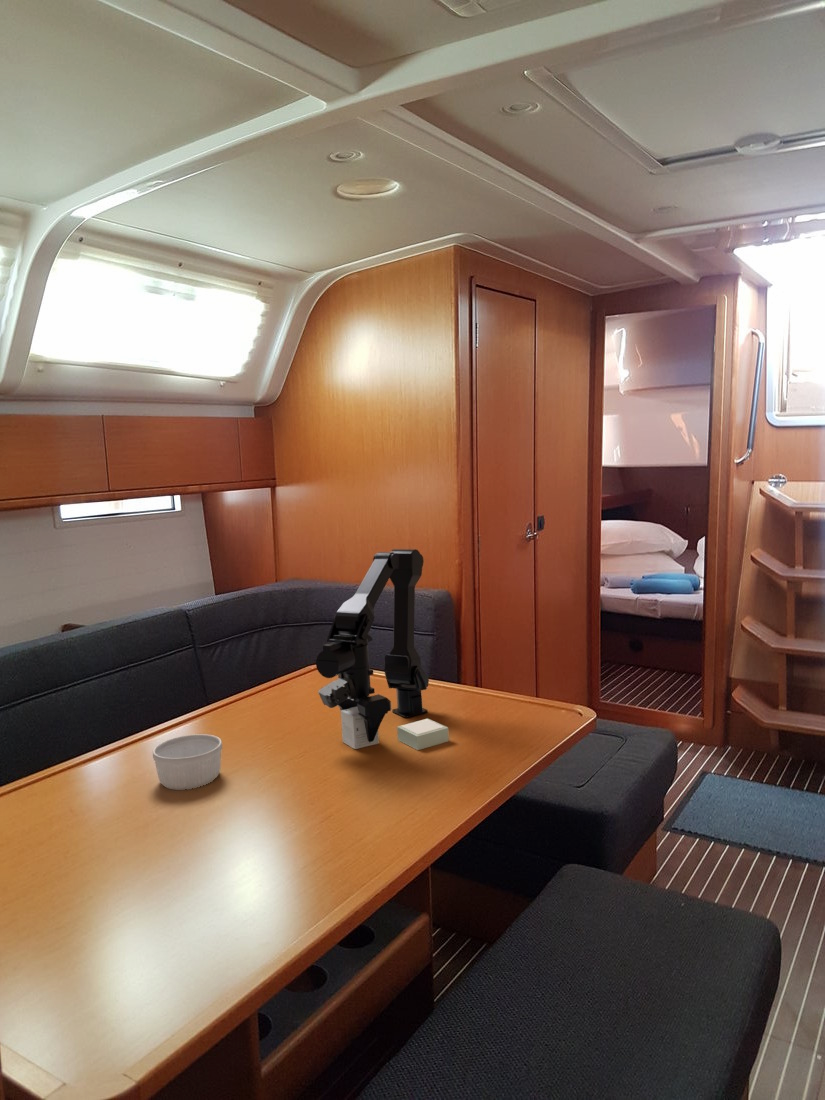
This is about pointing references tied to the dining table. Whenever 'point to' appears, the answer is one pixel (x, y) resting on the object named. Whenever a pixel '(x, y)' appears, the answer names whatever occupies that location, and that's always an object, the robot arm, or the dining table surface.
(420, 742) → the base block
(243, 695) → the dining table surface
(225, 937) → the dining table surface
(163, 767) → the ramekin
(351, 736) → the skincare box
